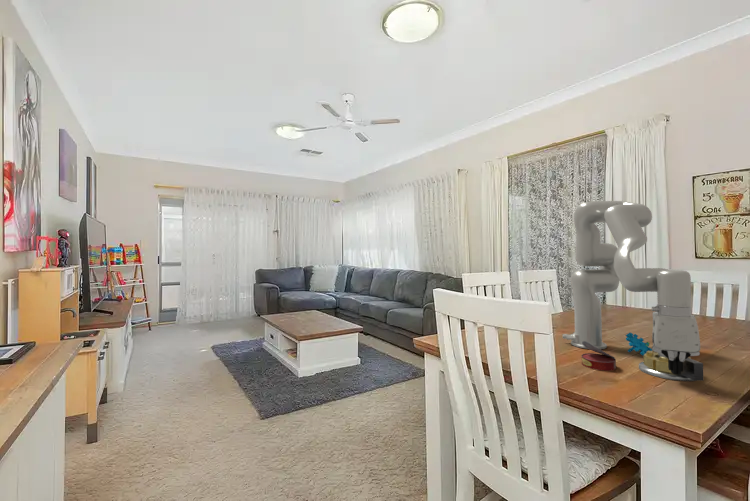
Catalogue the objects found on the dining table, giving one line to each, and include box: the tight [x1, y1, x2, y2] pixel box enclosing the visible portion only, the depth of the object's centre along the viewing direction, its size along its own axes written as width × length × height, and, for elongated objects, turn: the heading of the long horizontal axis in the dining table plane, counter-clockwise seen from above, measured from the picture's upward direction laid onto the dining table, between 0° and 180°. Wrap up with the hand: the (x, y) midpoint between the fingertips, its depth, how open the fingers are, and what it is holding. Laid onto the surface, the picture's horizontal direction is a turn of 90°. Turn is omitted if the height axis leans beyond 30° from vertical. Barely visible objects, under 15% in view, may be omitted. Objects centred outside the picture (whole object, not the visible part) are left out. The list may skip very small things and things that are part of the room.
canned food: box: [581, 341, 617, 372], centre depth 116 cm, size 11×10×10 cm
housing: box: [638, 351, 695, 382], centre depth 108 cm, size 15×15×10 cm
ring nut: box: [642, 350, 705, 382], centre depth 105 cm, size 17×12×5 cm
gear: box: [625, 332, 653, 356], centre depth 129 cm, size 11×6×10 cm
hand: (675, 373), depth 100 cm, fingers closed
